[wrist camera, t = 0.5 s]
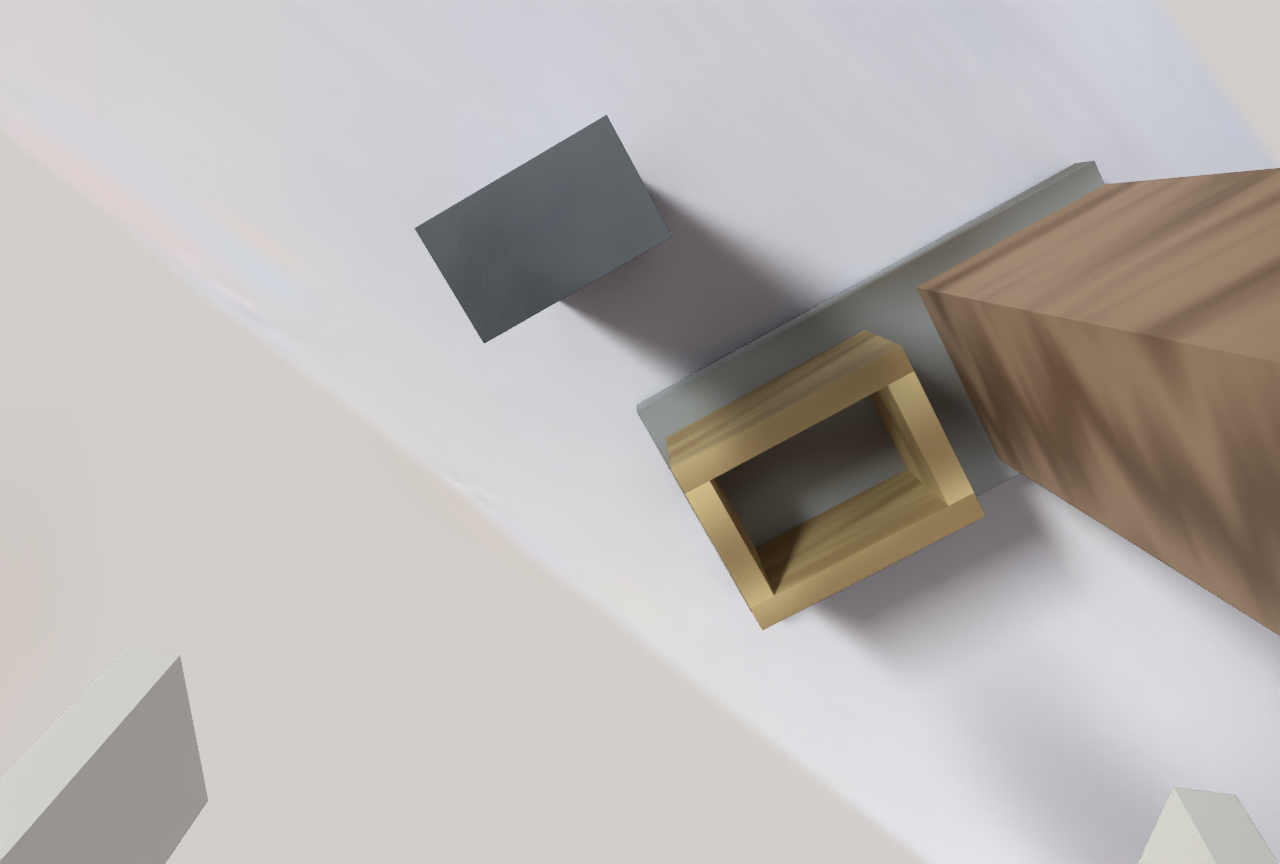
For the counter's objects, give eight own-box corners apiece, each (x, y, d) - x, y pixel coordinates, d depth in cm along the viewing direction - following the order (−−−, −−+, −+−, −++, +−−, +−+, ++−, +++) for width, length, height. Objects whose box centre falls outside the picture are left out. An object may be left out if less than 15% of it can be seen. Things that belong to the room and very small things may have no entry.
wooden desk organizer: (636, 404, 37) (644, 685, 14) (1075, 163, 35) (1897, 42, 12) (747, 597, 39) (908, 1113, 16) (1167, 379, 37) (2024, 621, 14)
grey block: (509, 228, 36) (414, 228, 20) (617, 165, 35) (606, 114, 20) (547, 294, 36) (484, 343, 21) (654, 233, 36) (672, 236, 20)
